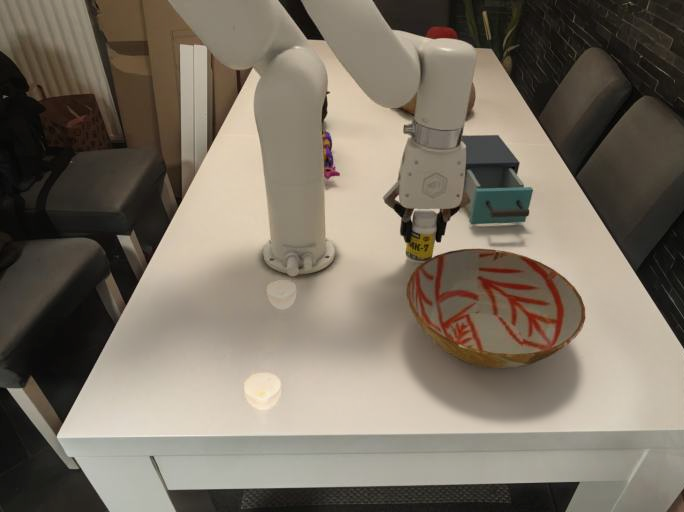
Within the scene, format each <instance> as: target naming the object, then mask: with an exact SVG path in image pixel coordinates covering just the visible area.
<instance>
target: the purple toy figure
mask: <svg viewBox="0 0 684 512" xmlns="http://www.w3.org/2000/svg"><path fill="white" fill-rule="evenodd" d="M332 139H333V138H332V136H331V133H330V132H329V131H326V130H323V129H322V140H323V158H324V178H326V180H329V179H330V178H332V177H340V176H341V172H339V171H337V170H336V166H334V155H333V153H332V149H333V140H332Z"/></svg>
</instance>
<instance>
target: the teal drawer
mask: <svg viewBox="0 0 684 512" xmlns="http://www.w3.org/2000/svg"><path fill="white" fill-rule="evenodd" d="M464 189H465V191H466V192H467V194H468V196H469V198H470V199H471V202H470V203H469V204H468V205H466V206H465V207H466V208H467V210H468V212H469V214H470V216H469V223H470V225H487V224H508V223H509V224H510V223H511V224H513V223H525V222H526V220H527V217H529V216H530V209H529V208H530V204H531V200H532V196H533V192H534V189H533V188H532V186H525V184H524V183H523V181H522V180H521V179H520V177H519V175H518V174H517V175H516V173H515V172H514V171H513V169H512V168H511V167H478V168H465V179H464Z"/></svg>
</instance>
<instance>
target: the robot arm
mask: <svg viewBox="0 0 684 512" xmlns="http://www.w3.org/2000/svg"><path fill="white" fill-rule="evenodd" d="M167 2H168V3H169V4H170V6H171V7H172V8H173V10H174V11H175V12H176V13H177V14H178V16H179V17H180V18H181V19H182V20H183V21H184V22H185V23H186V25H187V27H189V28H190V29H191V31H192V32H193V33H194V34H195V36H196V37H197V38H198V39H199V41H201V43H202V44H203V45H204V46H205V48H206V49H207V50H208V51H209V53H211V55H212V56H213V57H214V58H215V59H216V60H217V61H218V62H220V64H222V65H223V66H225V67H227V68H229V69H230V70H231V69H232V70H235V71H244V70H248V69H250V68H253V70H254V71H255V72H256V73H257V74H258V75H259V79H258V81H257V83H256V86H255V91H254V96H253V115H254V121H255V125H256V130H257V134H258V137H259V144H260V152H261V159H262V169H263V177H264V185H265V186H264V187H265V196H266V205H267V206H266V207H267V217H268V226H269V235H270V240H268V241H267V242H266V244H265V245H264V247H263V249H262V251H263V252H262V253H263V255H262V256H263V260H264V261H265V263H266V264H267V265H268V267H270V268H271V269H273V270H275V271H277V272H280V273H284V274H287V275H288V276H289V277H296V276H298V275H308V274H313V273H316V272H320V271H322V270H323V269H325V268H326V267H328V266H330V265H331V263H332V262H333V261H334V259H335V256H336V249H335V246H334V244H333V242H332V241H331V240H330V239H329V238H327V235H326V194H325V176H324V158H323V140H322V130H323V129H322V127H323V126H322V125H323V123H321V120H322V107H323V103H324V99H325V96H326V92H328V89H327V88H328V86H329V77H328V72H327V68H326V66H325V64H324V61H323V60H322V58H321V56H320V55H319V53H318V52H317V50H316V49H315V48H314V46H313V45H312V44H311V42H310V41H309V40H308V38H307V37H306V35H305V34H304V32H302V30H301V29H300V27H299V26H298V25H297V23H296V22H295V20H294V19H293V17H291V15H290V14H289V13H288V11H287V10H286V9H285V7H284V6H283V5H282V4H281V2H280V1H279V0H167ZM300 2H301V3H302V5H303V8H304V9H305V11H306V12H307V14H308V16H309V17H310V19H311V20H312V22H313V23H314V26H316V28H317V30H318V31H319V33H320V35H321V36H322V38H323V39H324V41H325V43H326V45H327V46H328V48H329V50H330V51H331V52H332V54H333V55H334V57H335V58H336V59H337V61H338V62H339V63H340V64H341V65H342V68H343V69H344V70H345V71H346V72H347V74H348V75H349V76H350V77H351V78H352V80H353V81H354V82H355V83H356V85H357V86H358V88H360V89H361V91H362V92H363V93H364V94H365V95H366V97H368V99H370V100H371V101H372V102H373V103H375V104H376V105H378V106H380V107H382V108H385V109H398V108H400V107H401V106H403V105H405V104H407V103H408V102H409V101H410V100H411V99H412V98H413V97H414V96H415V94H416V92H417V100H416V109H415V114H414V117H413V118H412V121H411V123H409V124H403V129H402V132H403V135H409V137H408V138H407V139H406V143H405V146H404V149H403V153H402V157H401V160H400V164H399V169H398V175H397V181H396V182H395V183H394V185H392V187H391V188H390V189H389V190H388V191H387V192H386V193H385V194H384V195H383V197H382V199H383V202H384V204H386V206H388V207H389V208H390V209H392V210H393V211H394V213H396V215H398V216H399V217H400V218H401V219H400V226H399V227H400V228H399V235H400V236H401V237H403V239H404V243H405V244H407V243H409V242H410V237H411V230H412V216H413V213H414V211H415V210H416V209H430V210H439V212H437V213H436V214H437V220H436V225H437V232H436V238H435V242H436V243H437V244H439V243H442V239H443V236H445V234H446V231H447V224H448V222H450V221H451V218H452V217H453V216H455V214H457V213H458V212H459V211H460V210H461V209H463V208H465V207H467V206H466V205H468V204H469V203H470V202H471V199H470V198H469V196H468V194H467V192H466V191H465V189H464V179H465V168H466V145H465V144H464V143H463V142H462V136H464V135H463V134H464V129H465V124H466V118H467V115H468V113H467V108H468V103H469V98H470V92H471V87H472V81H473V80H474V75H475V70H476V63H477V51H476V49H475V47H474V46H473V45H472V44H470V43H468V42H466V41H463V40H461V39H458V40H456V39H448V38H440V39H430V38H426V36H421V35H419V34H418V35H417V34H414V33H410V32H407V31H402V30H398V29H392V28H391V27H390V25H389V24H388V22H387V21H386V20H385V19H386V18H384V17H383V15H382V13H381V12H380V10H379V8H378V7H377V5H376V4H375V2H374V1H373V0H300ZM473 82H474V81H473ZM457 195H458V196H457ZM397 197H398V200H399V201H398V200H396V199H397Z"/></svg>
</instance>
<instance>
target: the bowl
mask: <svg viewBox="0 0 684 512" xmlns="http://www.w3.org/2000/svg"><path fill="white" fill-rule="evenodd" d="M406 299H407V303H408V305H409V308H410V309H411V312H412V315H413V316H414V317H415V319H416V321H417V322H418V324H419V326H420V327H421V329H422V331H423V332H424V333H425V334H426V335H427V336H428V337H429V338H430V339H431V340H432V341H433V342H434V344H436V345H437V346H438V347H440V348H441V349H443V350H444V351H445V352H446V353H448V354H449V355H452V356H454V357H455V358H457V359H459V360H461V361H463V362H466V363H469V364H471V365H476V366H480V367H485V368H492V369H493V368H495V369H505V368H507V369H508V368H516V367H517V368H518V367H522V366H527V365H531V364H535V363H536V362H539V361H542V360H545V359H547V358H548V357H551V356H552V355H554V354H555V353H558V352H559V351H560V350H561V349H563V348H564V347H566V346H567V345H568V344H570V343H571V342H572V341H573V340H574V339H576V338H577V336H579V333H580V332H581V331H582V330H583V327H584V325H585V322H586V307H585V303H584V301H583V298H582V296H581V295H580V293H579V291H578V290H577V289H576V287H575V286H574V285H573V284H572V283H571V281H569V280H568V279H567V278H566V277H565V276H563V275H562V274H561V273H559V272H558V271H557V270H555V269H554V268H552V267H550V266H548V265H546V264H544V263H542V262H540V261H538V260H535V259H533V258H530V257H528V256H525V255H523V254H519V253H514V252H511V251H506V250H501V249H500V250H499V249H495V248H494V249H493V248H492V249H491V248H463V249H456V250H449V251H447V252H443V253H440V254H437V255H434V256H432V258H430V259H428V260H426V261H425V262H424V263H420V265H418V266H417V267H416V268H415V269H414V271H412V273H411V274H410V276H409V278H408V281H407V284H406Z"/></svg>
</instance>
